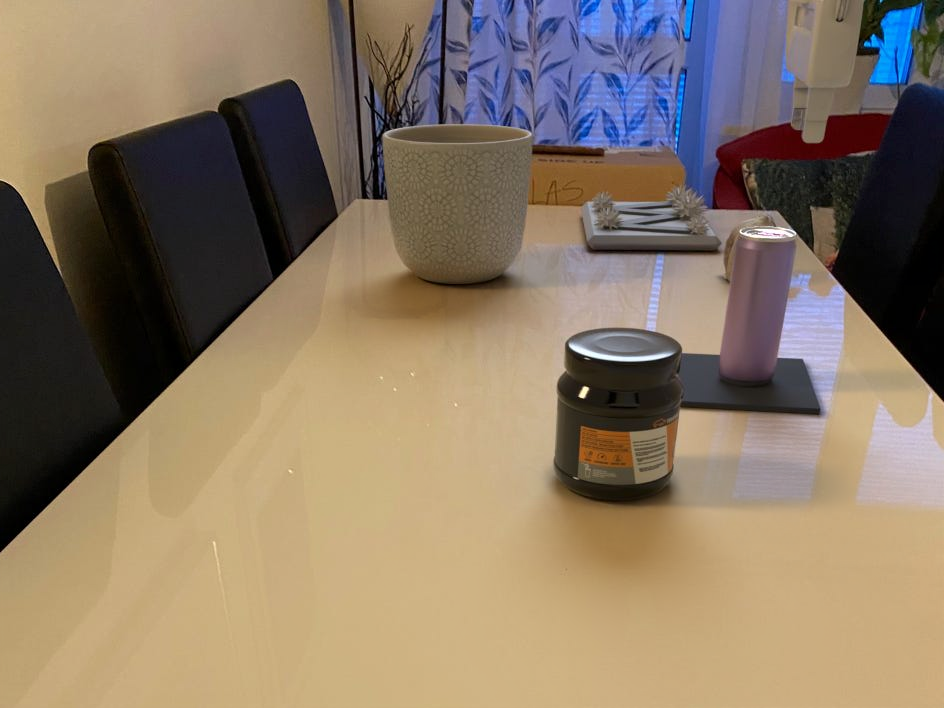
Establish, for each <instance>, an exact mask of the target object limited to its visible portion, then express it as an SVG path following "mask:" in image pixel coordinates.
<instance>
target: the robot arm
mask: <svg viewBox="0 0 944 708" xmlns="http://www.w3.org/2000/svg"><path fill="white" fill-rule="evenodd" d="M865 1H866V0H787V11H786V29H785V45H784V47H785V49H784V52H785V53H784V55H785V57H784V58H785V59H784V60H785V62H784V63H785V69H786V71H787V72H788V73H790V74H791V75H792V76H794V82H793V88H792V89H793V91H792V92H793V93H792V113H791V120H790V126H791V128H792V129H793V130H795V131H801V140H802V141H803V142H804V143H806V144H819V143H822V142H823V141H824V138H825V133H826V127H827V123H828V119H829V117H830V113H831V109H832V106H833V103H834V101H835V95H836V89H837V88H846V87H848V86H849V85H850V83H851V81H852V77H853V74H854V70H855V64H856V59H857V52H858V46H859V39H860V32H861V24H862V20H863V10H864V2H865Z"/></svg>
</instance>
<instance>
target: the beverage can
mask: <svg viewBox="0 0 944 708" xmlns="http://www.w3.org/2000/svg"><path fill="white" fill-rule="evenodd" d="M797 236H798V234H797V232H796V231H794V230H791V229H788V228H784V227H779V226H776V227H748V228H743V229H741V230H740V231H739V237H738V239H737V241H736V244H735V251H734V258H733V265H732V272H731V279H730V281H729V288H728V294H727V302H726V309H725V315H724V316H725V317H724V322H723V330H722V336H721V343H720V344H721V345H720V351H719V355H720V357H719V364H718V373H719V376H720V378H721V379H722V380H723V381H724V382H726V383H729V384H732V385H736V386H743V387H757V386H762V385H765V384H767V383H769V382H770V381H771V379H772V378H773V377H774V374H775V369H776V363H777V358H779V350H780V344H781V340H782V334H783V327H784V322H785V317H786V312H787V311H786V310H787V304H788V299H789V295H790V288H791V282H792V276H793V271H794V265H795V258H796V253H797V248H798V245H797V239H796V238H797Z"/></svg>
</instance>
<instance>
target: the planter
mask: <svg viewBox="0 0 944 708" xmlns="http://www.w3.org/2000/svg"><path fill="white" fill-rule="evenodd" d="M533 137H534V136H533V133H532V132H531V131H530V130H527V129H523V128H519V127H514V126H506V125H505V126H504V125H493V124H473V123H471V124H470V123H468V124H467V123H456V124H455V123H452V124H450V123H449V124H448V123H447V124H427V125H414V126H413V125H412V126H405V127H400V128H394V129H391V130H387V131H385V132H384V133H383V134H382V154H383V156H382V157H383V167H384V178H385V188H386V196H387V206H388V214H389V221H390V228H391V234H392V240H393V244H394V248H395V251H396V254H397V256H398V258H399V259H400V261H401V262H402V264H403V265H404V266H405V267H406V268H407V269H408V270H409V271H410V272H411V273H413V274H414V275H416V276H417V277H419V278H421V279H423V280H426V281H428V282H433V283H439V284H445V285H446V284H449V285H468V284H469V285H470V284H477V283H483V282H488V281H490V280H493V279H496V278H497V277H499V276H501V275H502V274H503V273H505V272H506V271H507V270H508V269H509V268H510V267H511V266H512V265H514V262H515V261H516V259H517V258H518V256H519V254H520V252H521V249H522V246H523V240H524V236H525V229H526V221H527V214H528V204H529V196H530V195H529V194H530V185H531V173H532V162H533V160H532V159H533Z"/></svg>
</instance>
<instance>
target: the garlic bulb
mask: <svg viewBox="0 0 944 708" xmlns="http://www.w3.org/2000/svg"><path fill="white" fill-rule="evenodd" d="M748 227H777V224H776V221H775V220H774V217H773V216H771V214H769V212H768V211H763V212H762V213H760V214H759V215H758V217H754V218H750V219H746V220H745V219H744V220H743V221H741V222H739V223H737V224H736V225H735V226H734V227H733V228H732V229H731V231H730V234H729V236H728V238H727V239H726V240H725V247H724V250H723V260H722V261H723V266H724V272H725V273H723V277H724V279H725V280H728V281H727V282H730V279H731V272H732V265H733V258H734V251H735V244H736V241H737V239H738V237H739V231H740V230H741V229H743V228H748Z"/></svg>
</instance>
